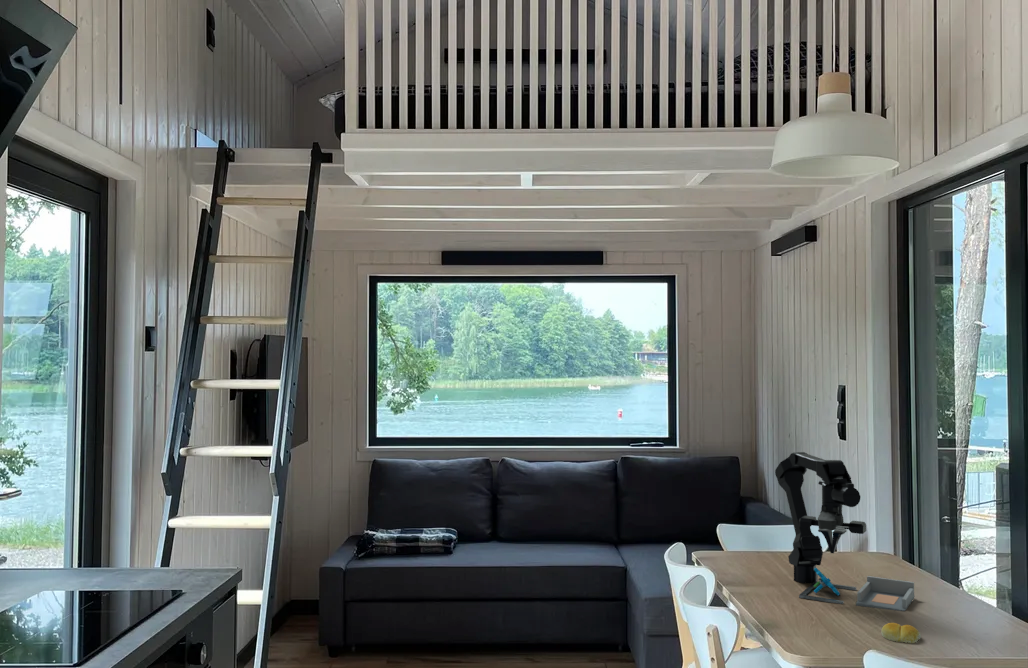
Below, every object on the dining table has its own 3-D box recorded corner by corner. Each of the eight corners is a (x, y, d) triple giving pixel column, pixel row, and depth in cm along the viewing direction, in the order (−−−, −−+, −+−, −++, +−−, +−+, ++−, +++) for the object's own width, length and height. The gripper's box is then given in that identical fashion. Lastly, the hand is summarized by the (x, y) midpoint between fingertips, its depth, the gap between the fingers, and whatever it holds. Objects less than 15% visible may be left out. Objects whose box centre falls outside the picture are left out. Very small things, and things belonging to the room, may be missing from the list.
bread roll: (884, 632, 218) (884, 616, 218) (922, 640, 213) (922, 624, 213) (877, 640, 211) (878, 624, 211) (916, 648, 206) (917, 632, 206)
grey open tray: (855, 606, 243) (855, 588, 243) (868, 591, 258) (868, 575, 258) (904, 613, 235) (904, 595, 236) (914, 598, 250) (914, 581, 251)
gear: (844, 596, 249) (820, 570, 251) (829, 609, 250) (805, 583, 251) (838, 586, 260) (814, 561, 261) (823, 599, 261) (800, 574, 262)
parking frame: (799, 597, 251) (799, 595, 251) (814, 583, 267) (814, 581, 267) (842, 604, 244) (842, 601, 244) (856, 589, 260) (856, 587, 260)
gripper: (793, 502, 254) (794, 554, 254) (858, 508, 244) (859, 562, 243) (803, 497, 263) (803, 547, 263) (866, 503, 253) (867, 555, 253)
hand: (832, 553), depth 255 cm, fingers closed
